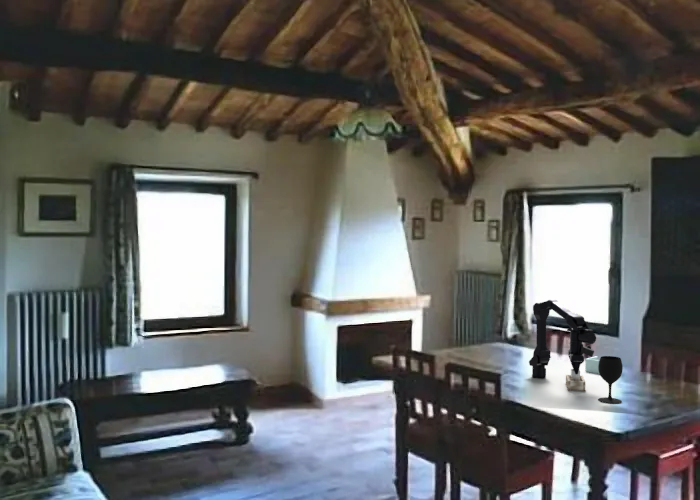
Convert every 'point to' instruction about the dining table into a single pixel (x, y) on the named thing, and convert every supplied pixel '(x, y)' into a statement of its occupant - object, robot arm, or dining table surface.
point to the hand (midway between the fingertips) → (575, 372)
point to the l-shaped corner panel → (592, 364)
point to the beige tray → (575, 384)
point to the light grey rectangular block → (575, 375)
